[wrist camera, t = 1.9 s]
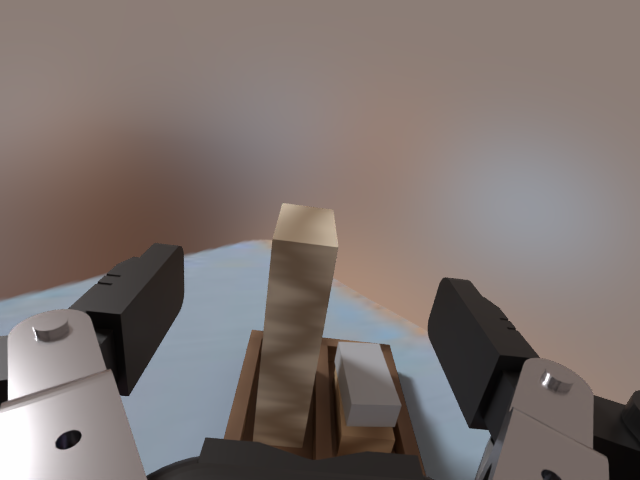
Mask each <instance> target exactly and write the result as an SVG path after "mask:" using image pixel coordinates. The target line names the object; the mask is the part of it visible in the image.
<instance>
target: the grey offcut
mask: <svg viewBox="0 0 640 480" xmlns="http://www.w3.org/2000/svg"><path fill="white" fill-rule="evenodd" d="M335 367H336V372H337V377H338V383H339V388H340V394H341V399H342V404H343V410H344V415H345V421H346V426H361V427H395V425H396V421H397V418H398V415H399V412H400V409H401V406H402V405H401V403H400V400H399V397H398V394H397V392H396V389H395V386H394V383H393V381H392V378H391V375H390V372H389V370H388V367H387V364H386V361H385V359H384V356H383V353H382V350H381V348H380V345H379V344H375V343H355V342H338V347H337V351H336V356H335Z"/></svg>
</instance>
